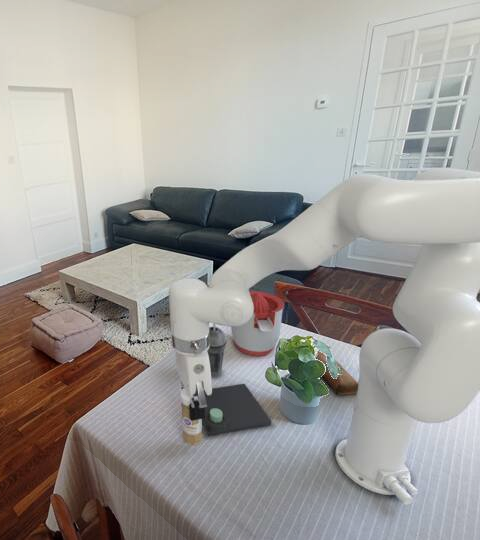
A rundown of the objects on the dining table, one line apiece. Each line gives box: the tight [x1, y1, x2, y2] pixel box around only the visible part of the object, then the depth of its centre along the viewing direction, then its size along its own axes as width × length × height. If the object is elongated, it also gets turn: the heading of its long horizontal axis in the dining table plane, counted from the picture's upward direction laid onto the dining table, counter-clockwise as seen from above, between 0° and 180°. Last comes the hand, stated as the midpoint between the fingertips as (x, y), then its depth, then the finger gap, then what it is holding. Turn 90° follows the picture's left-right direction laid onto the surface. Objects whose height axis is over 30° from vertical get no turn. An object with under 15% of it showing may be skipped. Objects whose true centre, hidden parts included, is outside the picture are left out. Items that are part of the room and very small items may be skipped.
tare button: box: [210, 408, 223, 423], centre depth 82 cm, size 3×3×2 cm
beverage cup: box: [207, 323, 228, 379], centre depth 99 cm, size 7×7×20 cm
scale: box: [202, 383, 272, 437], centre depth 87 cm, size 14×16×3 cm
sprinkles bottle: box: [179, 387, 203, 446], centre depth 75 cm, size 5×5×14 cm
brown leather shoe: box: [316, 350, 358, 396], centre depth 97 cm, size 18×7×7 cm
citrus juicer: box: [230, 290, 285, 357], centre depth 109 cm, size 16×17×20 cm
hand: (193, 408), depth 74 cm, fingers closed on sprinkles bottle, 4 cm apart
